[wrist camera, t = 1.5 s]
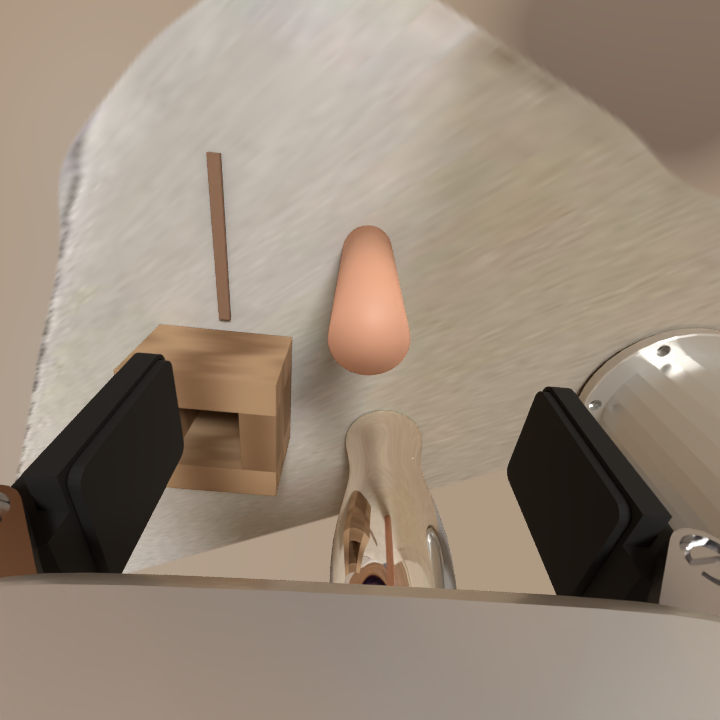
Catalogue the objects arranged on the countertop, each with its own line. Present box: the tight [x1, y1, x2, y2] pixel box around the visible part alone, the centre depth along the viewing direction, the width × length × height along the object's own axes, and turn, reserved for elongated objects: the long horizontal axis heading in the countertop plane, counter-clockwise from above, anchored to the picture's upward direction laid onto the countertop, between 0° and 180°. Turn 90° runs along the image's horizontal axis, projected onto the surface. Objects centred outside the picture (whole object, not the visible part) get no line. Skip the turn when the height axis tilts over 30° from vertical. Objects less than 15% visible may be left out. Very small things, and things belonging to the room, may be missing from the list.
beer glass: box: [330, 411, 456, 589], centre depth 26 cm, size 7×7×15 cm
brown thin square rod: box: [206, 152, 231, 320], centre depth 25 cm, size 1×10×1 cm, turn 175°
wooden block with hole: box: [114, 325, 292, 496], centre depth 28 cm, size 9×9×6 cm
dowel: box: [328, 226, 410, 375], centre depth 20 cm, size 3×3×12 cm
